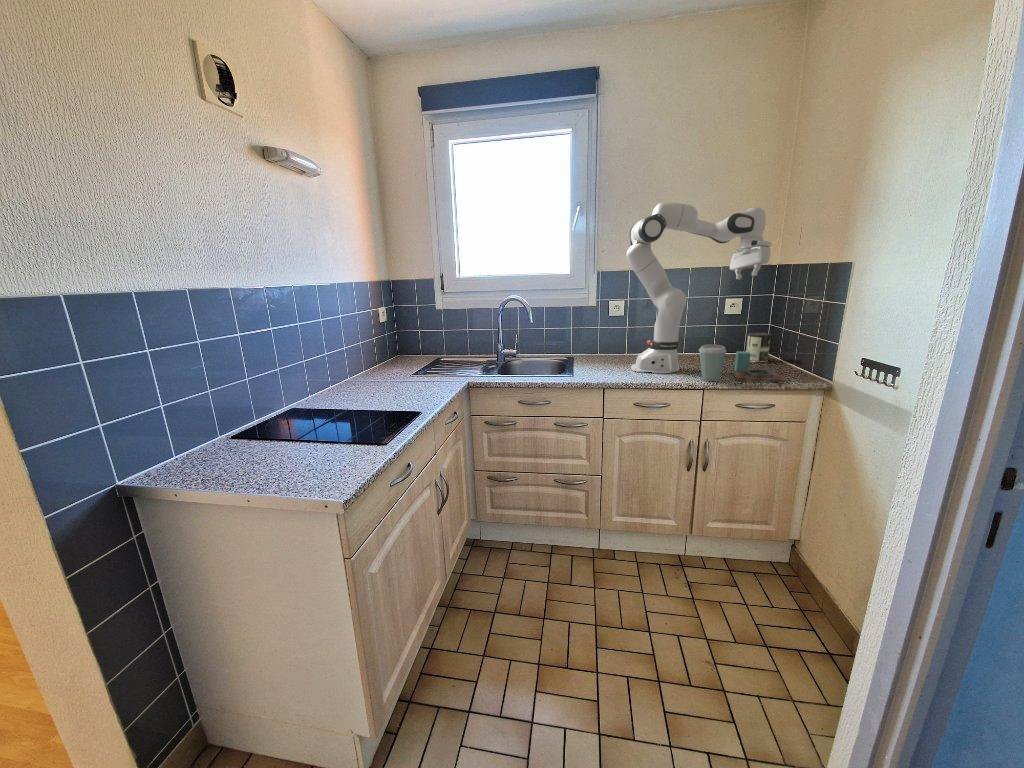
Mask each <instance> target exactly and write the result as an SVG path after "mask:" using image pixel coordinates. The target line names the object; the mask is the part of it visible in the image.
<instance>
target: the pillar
mask: <svg viewBox="0 0 1024 768" xmlns="http://www.w3.org/2000/svg"><path fill="white" fill-rule="evenodd" d="M750 356H751V354H750V353H749V352H746V351H740V350H739V351H737V350H736V352H735V360H734V369H733V371H745V369H750V364H751V362H750Z"/></svg>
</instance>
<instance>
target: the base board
mask: <svg viewBox="0 0 1024 768" xmlns="http://www.w3.org/2000/svg"><path fill="white" fill-rule="evenodd" d="M731 375H734V376H733V377H734V378H735V379H736V380H737V381H738V382H745V381H765V382H764V383H768V382H787V383H788V380H787V378H785V377H784V376H783V375H781V373H780V372H778V371H770V370H769V369H759V368H758V369H757V368H756V369H755V368H753V369H752V368H749V369H745V371H735V370H732V373H731Z"/></svg>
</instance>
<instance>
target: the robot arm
mask: <svg viewBox="0 0 1024 768" xmlns="http://www.w3.org/2000/svg"><path fill="white" fill-rule="evenodd" d="M698 216H699V213H698V209H697V208H696V207H695V206H693V205H690V204H686V203H681V202H680V203H679V202H659V203H657V204H656V206H655V207H654V208H653V210H652V213H651V215H650V216H647V217H645V218H642V219H640V220H638V221H637V222H636V223H635V222H634V224H633V225H632V226H631V228H630V230H629V240H630V246H629V247H628V249H627V251H626V253H625V254H626V255H625V256H626V258H627V261H628V263H629V266H630V267H631V269H632V271H633V272H634V274H635V275H636V276H637V278H638V280H639V281H640V282H641V284H642V286H643V287H644V289H645V290H646V293H647V295H648V296H649V298H650V300H651V302H652V304H653V306H655V308H656V309H658V312H657V315H656V316H657V317H656V320H655V322H654V330H653V339H652V340H650V339H648V340H647V341H646V344H647V345H648V348H647V349H645V350H644V351H642V352H641V353H639V354H638V355H637V357H636V360H635V363H634V364H631V365H630V369H631V370H632V371H633V372H635V371H636V373H644V372H652V373H651V374H666V373H670V374H672V373H676V372H678V371H680V370H681V369H680V367H679V366H680V365H679V356H678V354H679V348H680V341H679V332H680V325H681V321H682V315H683V312H684V308H685V307H686V304H687V296H686V294H685V293H684V292H683V291H682V290H681V289H680V288H678V287H673V285H672V284H671V282H670V280H669V278H668V276H667V272H666V270H665V269H664V267H663V265H662V264H661V263H660V261H659V260H658V258H657V256H656V255H655V254H654V253H653V250H652V243H654V242H656V241H657V240H659V238H660V239H661V236H662V235H663V233H664V231H665V230H667V229H668V230H672V231H673V230H674V231H680V232H687V233H689V234H694V235H697V236H703V237H704V238H705V237H706V238H709V239H711V240H713V241H715V242H716V243H718V244H726V243H728V242H731V241H732V240H733V239H736V238H737V237H739V238H740V243H739V249H737V250H736V251H735V252H734V253H733V255H732V257H731V259H730V264H729V270H730V271H733V272H734V273H735V275H736V276H735V279H736V280H742V279H743V275H742V274H741V272H742V270H746V269H750V268H754V269H753V271H751V276H752V277H755V276H756V277H757V276H758V273H759V271H760V269H761V267H762V265H766V264H768V262H769V261H770V257H771V247H772V244H773V243H772V241H768V240H764V232H765V228H766V219H767V216H766V211H765V210H764V209H763V208H761V207H750V208H747V209H746V210H744V211H742V212H736V213H733V214H731V215H729V216H728V217H725V218H724V219H723V220H721V221H718V222H711V221H710V222H709V221H707V220H701V219H699V218H698Z"/></svg>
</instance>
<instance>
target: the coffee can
mask: <svg viewBox="0 0 1024 768" xmlns="http://www.w3.org/2000/svg"><path fill="white" fill-rule="evenodd" d="M771 339H772V333H769V332H761V331H760V332H758V331H757V332H755V331H754V332H753V331H752V332H748V333H747V341H746V349H745V352H749V353H750V354H751V356H750V363H755V362H765V363H768V361H769V352H770V346H771Z"/></svg>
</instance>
